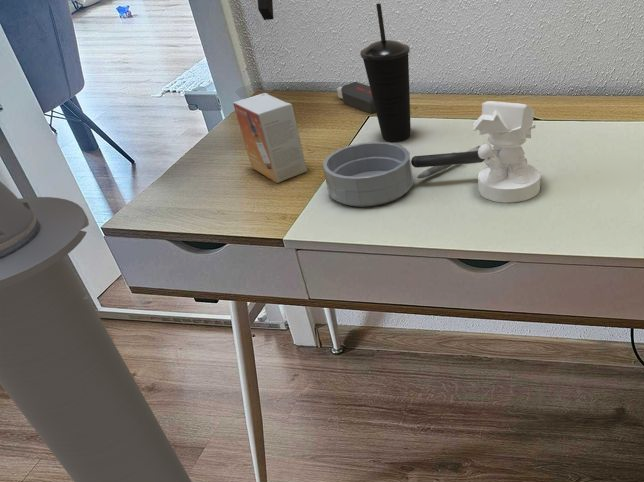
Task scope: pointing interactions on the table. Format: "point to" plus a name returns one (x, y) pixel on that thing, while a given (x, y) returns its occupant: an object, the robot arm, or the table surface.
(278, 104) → the small box
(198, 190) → the table surface
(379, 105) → the drinking cup
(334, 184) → the pan
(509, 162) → the character figurine
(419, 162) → the pan handle
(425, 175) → the pen
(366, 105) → the usb drive
